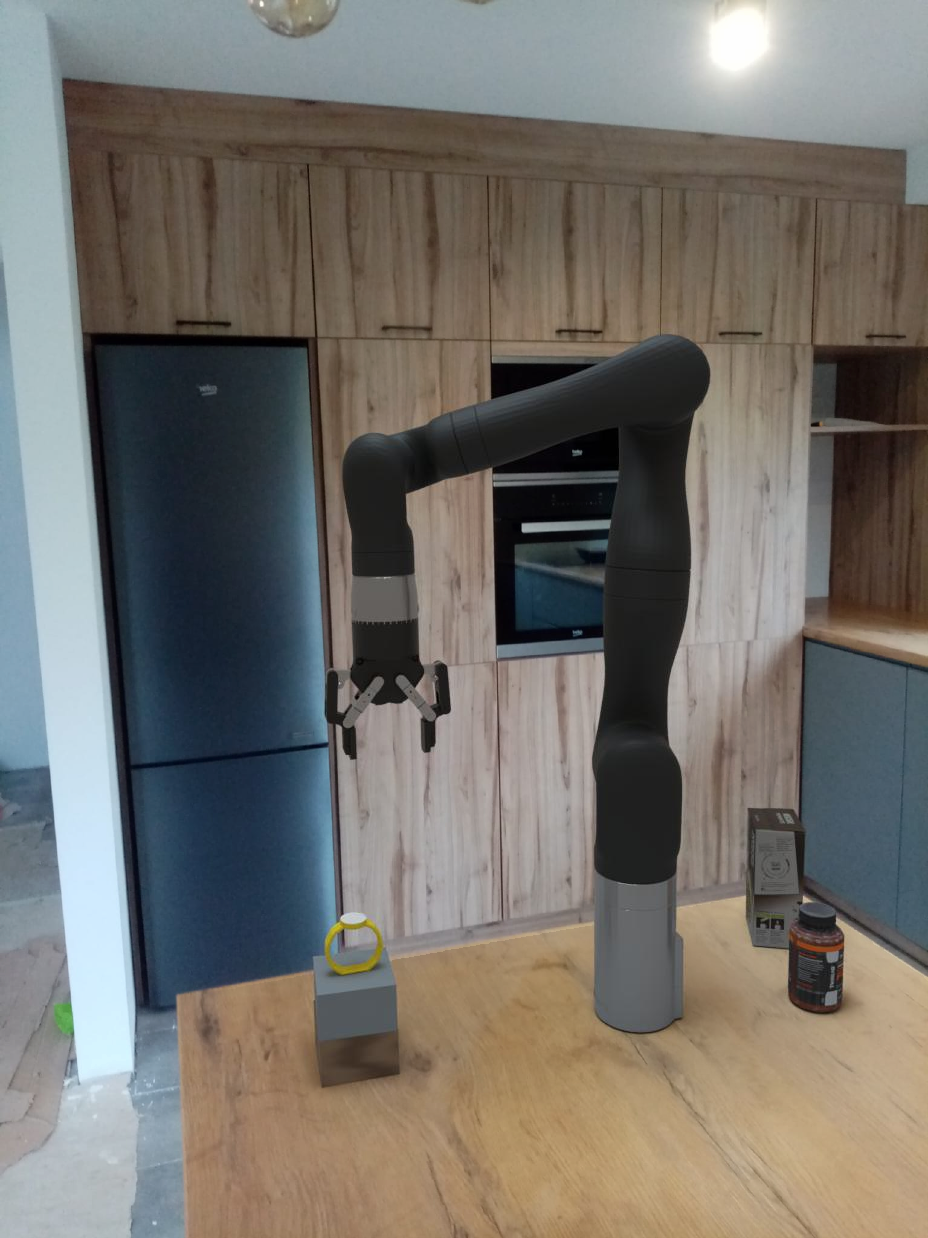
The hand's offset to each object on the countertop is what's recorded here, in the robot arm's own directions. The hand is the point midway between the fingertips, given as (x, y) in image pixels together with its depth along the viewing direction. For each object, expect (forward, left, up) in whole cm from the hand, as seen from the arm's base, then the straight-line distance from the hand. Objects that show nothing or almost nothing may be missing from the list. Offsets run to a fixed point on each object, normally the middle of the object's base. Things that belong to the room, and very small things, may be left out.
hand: (389, 754), depth 102 cm
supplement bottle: (-47, +14, -30) cm, 58 cm away
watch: (+6, +10, -20) cm, 23 cm away
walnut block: (+6, +10, -30) cm, 32 cm away
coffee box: (-52, -2, -30) cm, 60 cm away
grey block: (+6, +10, -25) cm, 28 cm away
